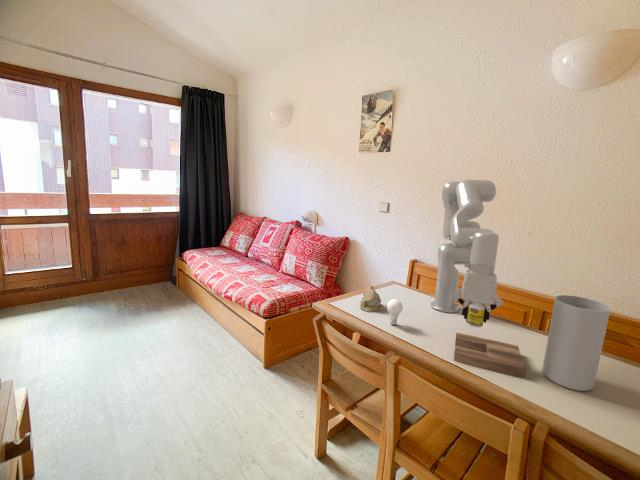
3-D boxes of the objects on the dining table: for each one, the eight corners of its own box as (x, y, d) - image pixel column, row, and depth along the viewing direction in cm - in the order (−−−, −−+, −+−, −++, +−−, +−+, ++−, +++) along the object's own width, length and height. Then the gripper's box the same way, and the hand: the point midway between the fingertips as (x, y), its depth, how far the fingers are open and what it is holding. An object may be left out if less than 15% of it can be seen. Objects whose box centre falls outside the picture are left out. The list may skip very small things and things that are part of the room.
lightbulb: (395, 329, 124) (397, 303, 122) (382, 323, 129) (384, 298, 127) (404, 325, 128) (406, 300, 126) (391, 319, 133) (393, 295, 131)
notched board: (455, 339, 117) (456, 332, 117) (516, 353, 109) (517, 345, 109) (453, 360, 103) (454, 352, 103) (523, 378, 95) (525, 369, 94)
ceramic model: (386, 312, 141) (387, 291, 139) (362, 312, 140) (363, 291, 138) (377, 300, 155) (379, 281, 153) (355, 300, 154) (357, 281, 152)
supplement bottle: (466, 326, 105) (469, 298, 103) (464, 320, 110) (468, 293, 108) (484, 329, 103) (487, 301, 101) (481, 322, 108) (485, 296, 106)
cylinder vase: (578, 396, 87) (595, 313, 83) (532, 371, 98) (546, 297, 94) (602, 386, 92) (619, 308, 88) (556, 364, 103) (570, 293, 99)
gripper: (453, 267, 103) (447, 318, 106) (512, 275, 96) (504, 329, 99) (454, 262, 110) (448, 310, 113) (509, 269, 102) (502, 320, 106)
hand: (474, 318), depth 106 cm, fingers closed on supplement bottle, 5 cm apart
